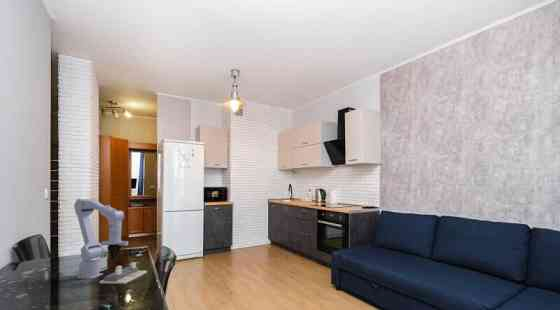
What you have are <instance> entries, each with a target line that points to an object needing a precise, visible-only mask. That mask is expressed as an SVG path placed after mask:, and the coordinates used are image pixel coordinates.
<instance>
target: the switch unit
mask: <svg viewBox="0 0 560 310" xmlns="http://www.w3.org/2000/svg"><path fill="white" fill-rule="evenodd" d="M147 273H148V270H139V266H138V267H137V266H136V267H135V268H133V269H130V266H126V267H125V268H122V274H120V275H115V272H113V273H109V274H108V275H106V276H104V277H103V279H102V280H99V284H115V285H116V284H117V285H118V284H120V285H122V284H123V285H125V284H127V283H129V282H131V281H133V280H135V279H137V278H138V277H141V276H142V275H145V274H147Z"/></svg>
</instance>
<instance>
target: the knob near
mask: <svg viewBox="0 0 560 310" xmlns="http://www.w3.org/2000/svg"><path fill="white" fill-rule="evenodd" d="M122 269H123V268H122ZM122 269H118V270H116V269H115V270H114V273H115V275H120V274H122Z"/></svg>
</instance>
